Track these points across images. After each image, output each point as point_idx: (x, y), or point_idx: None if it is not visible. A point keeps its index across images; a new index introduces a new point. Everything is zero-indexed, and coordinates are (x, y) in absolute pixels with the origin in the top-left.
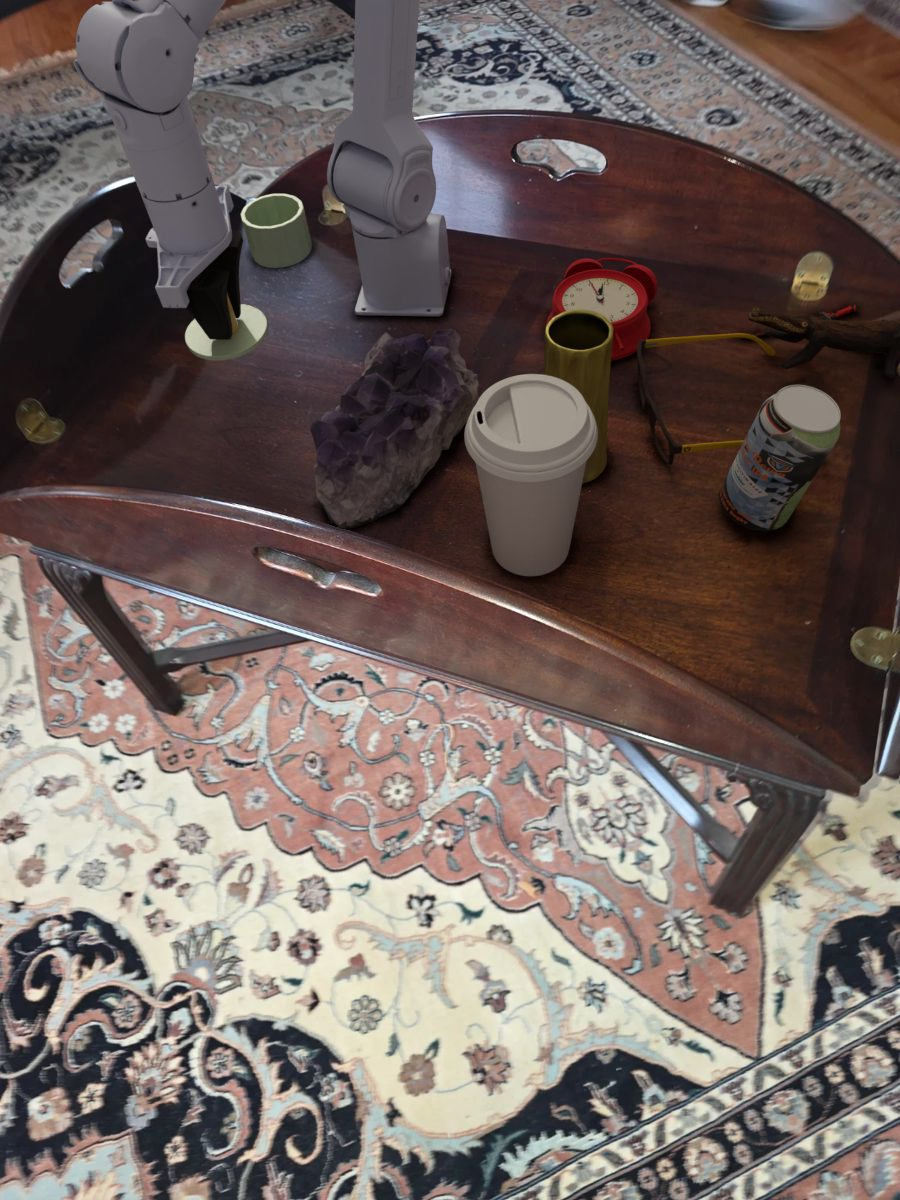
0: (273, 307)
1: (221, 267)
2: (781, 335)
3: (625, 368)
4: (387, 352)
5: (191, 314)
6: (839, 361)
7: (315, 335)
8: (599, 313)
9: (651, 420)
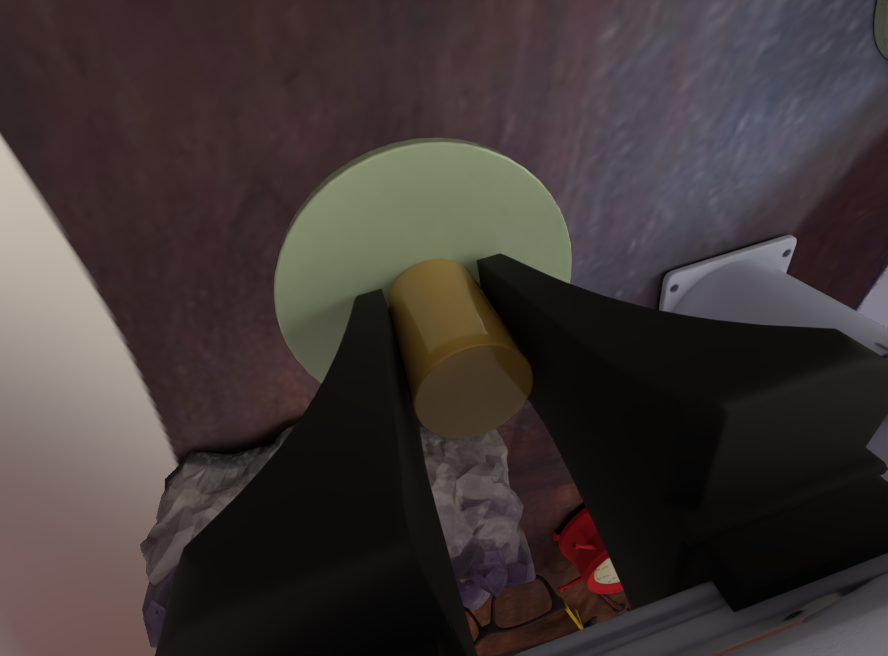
0: (718, 69)
1: (595, 480)
2: (588, 626)
3: (553, 554)
4: (459, 559)
5: (325, 376)
6: (571, 625)
7: (611, 224)
8: (611, 568)
9: (471, 616)
